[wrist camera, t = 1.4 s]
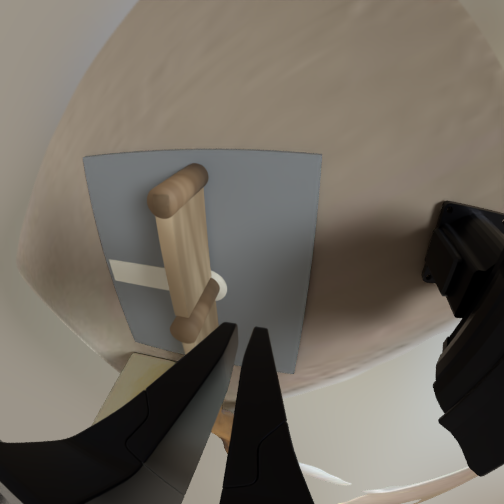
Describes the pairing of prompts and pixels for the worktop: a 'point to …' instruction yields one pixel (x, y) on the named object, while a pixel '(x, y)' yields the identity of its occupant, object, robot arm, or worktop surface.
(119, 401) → the toy refrigerator
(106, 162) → the board
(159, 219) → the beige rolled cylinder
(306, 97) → the worktop surface
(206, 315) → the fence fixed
